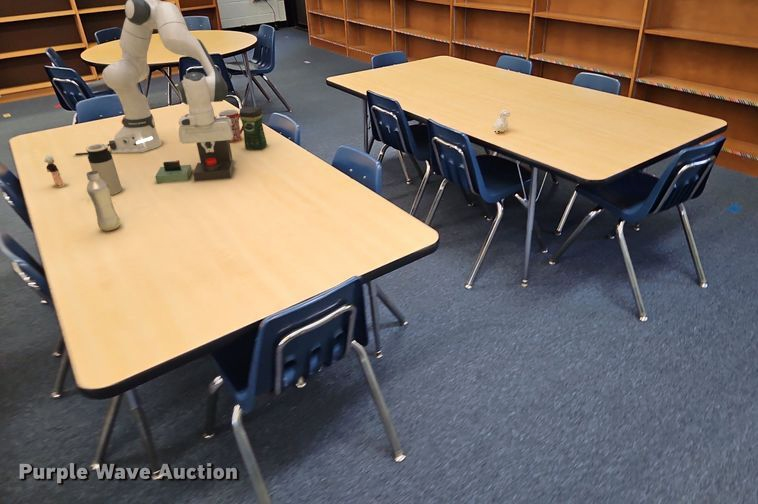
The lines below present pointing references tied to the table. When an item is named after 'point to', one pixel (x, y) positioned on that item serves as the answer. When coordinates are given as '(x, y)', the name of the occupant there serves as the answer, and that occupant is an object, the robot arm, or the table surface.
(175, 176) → the panel
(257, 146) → the coffee jar
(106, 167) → the travel mug
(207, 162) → the red button
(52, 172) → the grandmother figurine
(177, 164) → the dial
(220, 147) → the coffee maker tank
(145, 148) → the robot arm
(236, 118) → the mug
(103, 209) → the plastic bottle
